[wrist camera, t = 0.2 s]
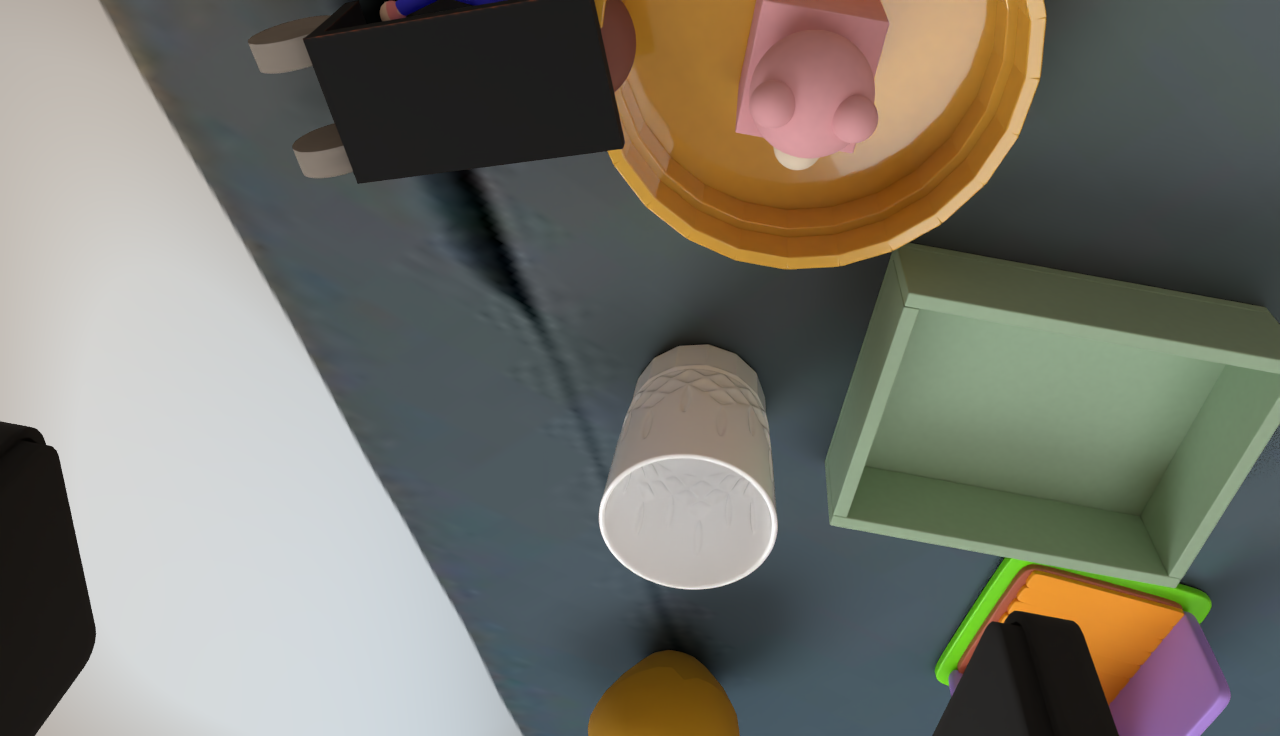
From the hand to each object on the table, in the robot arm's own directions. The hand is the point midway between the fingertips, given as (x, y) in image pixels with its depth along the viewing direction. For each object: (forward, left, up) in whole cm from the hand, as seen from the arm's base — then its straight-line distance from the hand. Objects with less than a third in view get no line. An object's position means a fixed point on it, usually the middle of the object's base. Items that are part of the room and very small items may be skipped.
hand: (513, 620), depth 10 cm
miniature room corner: (+34, +28, -37) cm, 57 cm away
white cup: (+22, +4, -37) cm, 43 cm away
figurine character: (+6, -9, -36) cm, 38 cm away
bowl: (+3, +5, -36) cm, 37 cm away
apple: (+43, +6, -37) cm, 57 cm away
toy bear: (+3, +5, -36) cm, 36 cm away
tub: (+18, +20, -36) cm, 45 cm away
